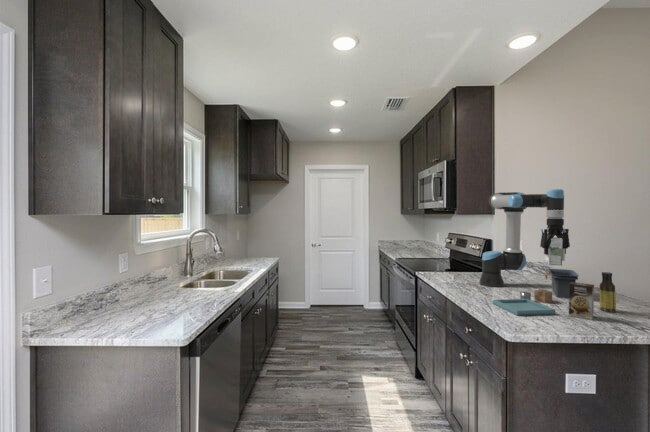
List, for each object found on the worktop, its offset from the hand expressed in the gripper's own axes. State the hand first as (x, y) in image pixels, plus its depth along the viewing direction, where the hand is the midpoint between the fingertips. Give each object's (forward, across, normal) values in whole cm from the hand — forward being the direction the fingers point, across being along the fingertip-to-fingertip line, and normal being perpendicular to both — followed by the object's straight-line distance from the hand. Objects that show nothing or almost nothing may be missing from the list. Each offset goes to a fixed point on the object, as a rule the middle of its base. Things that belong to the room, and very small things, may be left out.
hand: (554, 260), depth 171 cm
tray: (+25, -20, -2) cm, 32 cm away
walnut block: (+25, +2, +11) cm, 28 cm away
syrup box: (+2, 0, 0) cm, 2 cm away
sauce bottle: (+25, +21, -9) cm, 34 cm away
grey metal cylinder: (+25, -8, +12) cm, 29 cm away
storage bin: (+25, +23, +23) cm, 41 cm away
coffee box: (+25, 0, -16) cm, 30 cm away
